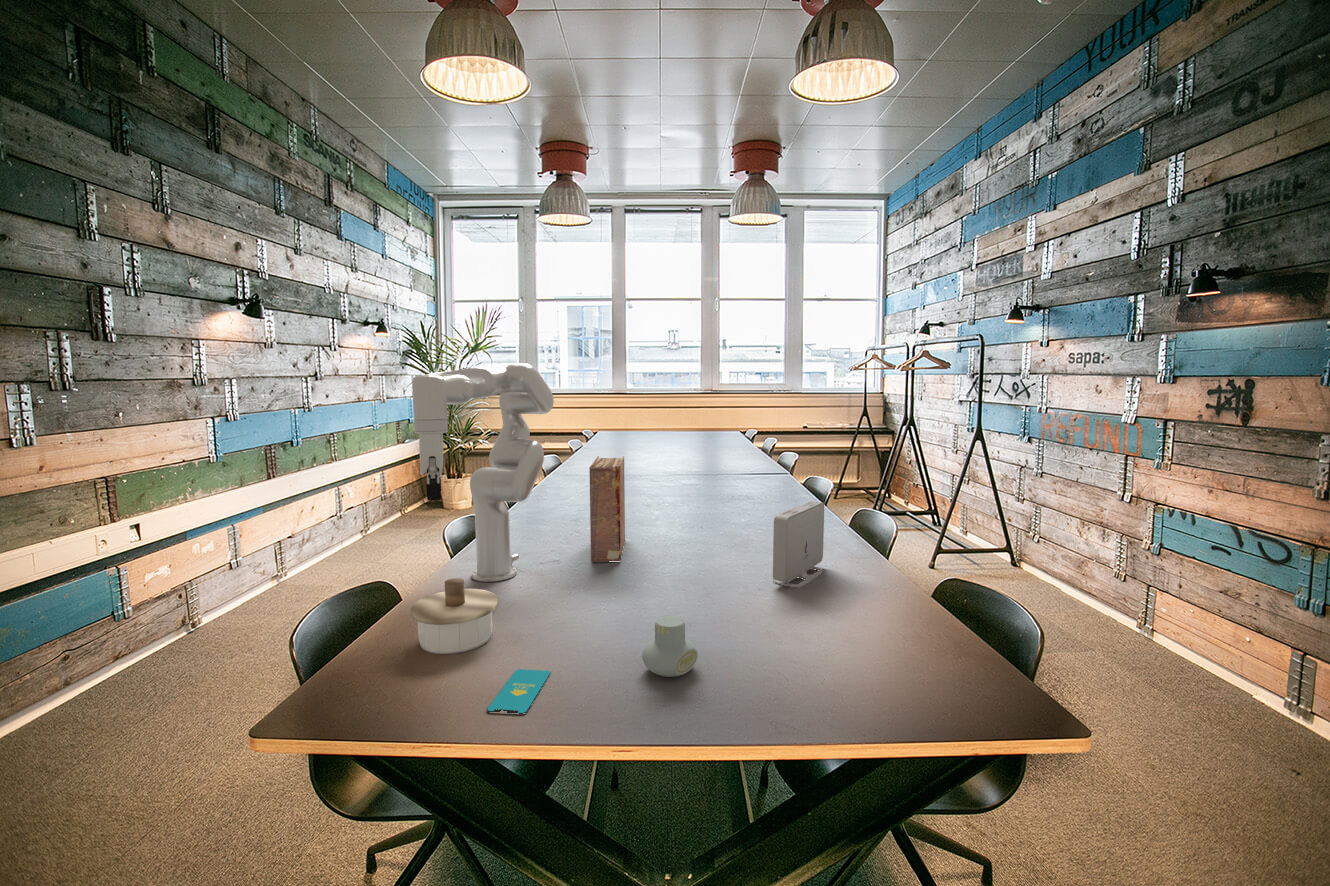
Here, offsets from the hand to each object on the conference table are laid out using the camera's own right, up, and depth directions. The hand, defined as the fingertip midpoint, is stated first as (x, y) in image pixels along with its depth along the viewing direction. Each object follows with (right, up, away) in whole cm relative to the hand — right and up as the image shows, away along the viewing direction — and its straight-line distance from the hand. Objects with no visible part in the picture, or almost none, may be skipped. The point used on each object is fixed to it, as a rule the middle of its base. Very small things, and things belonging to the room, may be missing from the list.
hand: (434, 496), depth 146 cm
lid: (+10, -23, -15) cm, 30 cm away
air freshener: (+57, -32, -29) cm, 72 cm away
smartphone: (+30, -33, -36) cm, 58 cm away
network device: (+95, -26, +25) cm, 101 cm away
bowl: (+10, -30, -14) cm, 35 cm away
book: (+38, -23, +51) cm, 67 cm away
